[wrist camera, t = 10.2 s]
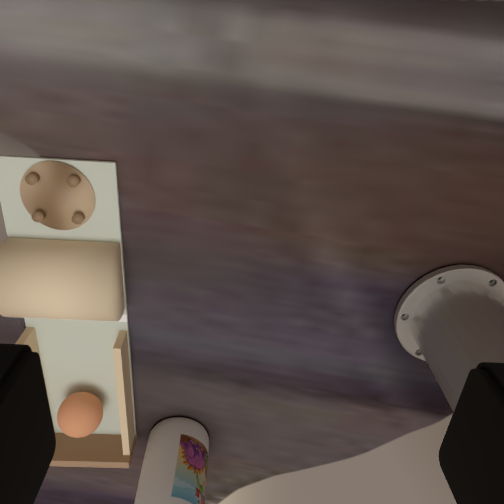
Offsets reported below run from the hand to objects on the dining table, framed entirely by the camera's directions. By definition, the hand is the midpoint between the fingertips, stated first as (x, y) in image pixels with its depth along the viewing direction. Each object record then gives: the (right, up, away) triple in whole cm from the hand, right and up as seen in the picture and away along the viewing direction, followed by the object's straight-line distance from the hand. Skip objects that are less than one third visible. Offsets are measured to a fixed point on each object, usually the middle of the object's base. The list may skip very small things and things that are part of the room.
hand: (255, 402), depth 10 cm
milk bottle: (-9, -20, +48) cm, 53 cm away
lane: (-19, -3, +42) cm, 46 cm away
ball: (-20, -15, +42) cm, 49 cm away
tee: (-18, +9, +33) cm, 38 cm away
